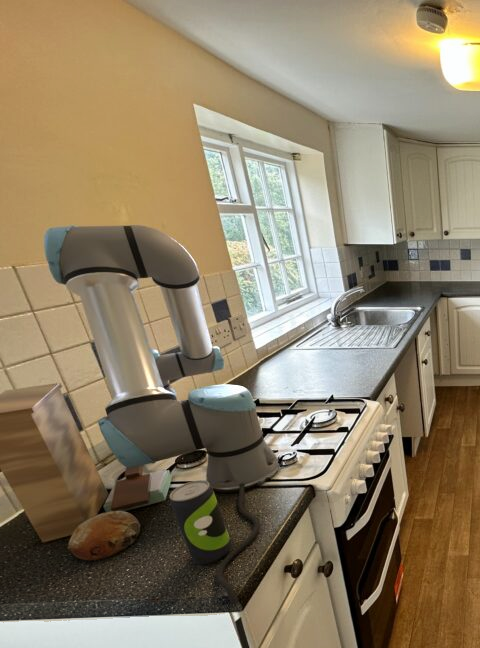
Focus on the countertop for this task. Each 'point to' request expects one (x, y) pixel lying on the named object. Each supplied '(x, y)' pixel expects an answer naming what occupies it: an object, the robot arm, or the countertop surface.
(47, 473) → the stand
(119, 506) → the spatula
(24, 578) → the countertop surface
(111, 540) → the bread roll
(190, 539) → the beverage can
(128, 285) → the robot arm
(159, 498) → the scale
